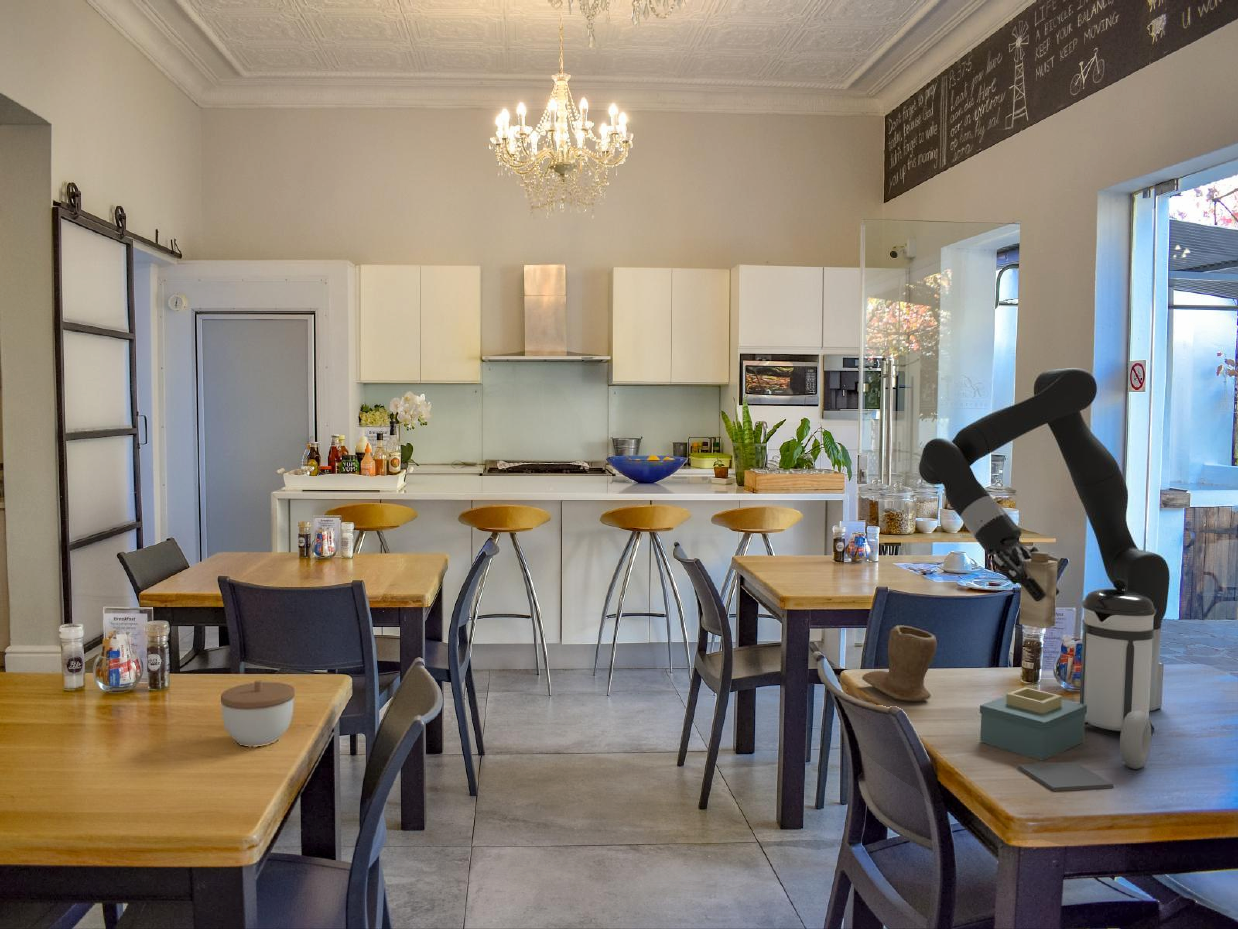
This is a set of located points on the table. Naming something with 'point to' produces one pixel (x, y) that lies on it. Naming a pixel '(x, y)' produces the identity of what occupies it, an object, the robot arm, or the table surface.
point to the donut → (1135, 739)
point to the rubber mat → (1065, 776)
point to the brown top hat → (905, 664)
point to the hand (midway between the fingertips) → (1048, 596)
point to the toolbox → (1033, 723)
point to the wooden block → (1046, 577)
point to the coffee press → (1116, 655)
